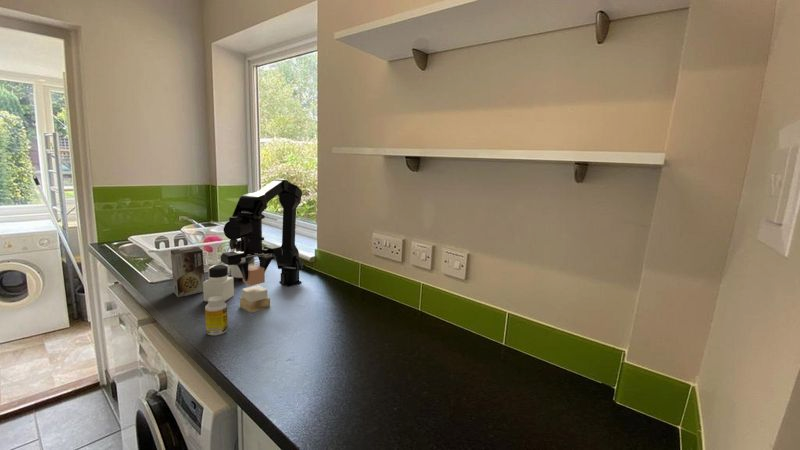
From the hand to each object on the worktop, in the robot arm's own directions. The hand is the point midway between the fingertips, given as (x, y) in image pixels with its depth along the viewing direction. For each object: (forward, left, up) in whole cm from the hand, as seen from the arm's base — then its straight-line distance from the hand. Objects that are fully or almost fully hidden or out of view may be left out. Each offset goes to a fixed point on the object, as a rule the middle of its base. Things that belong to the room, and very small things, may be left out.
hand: (253, 279), depth 117 cm
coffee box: (+10, -28, -10) cm, 31 cm away
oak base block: (0, 0, -10) cm, 10 cm away
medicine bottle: (+5, -15, -10) cm, 19 cm away
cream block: (0, 0, -7) cm, 7 cm away
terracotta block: (0, 0, -1) cm, 1 cm away
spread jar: (-11, -32, -10) cm, 35 cm away
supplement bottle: (+16, +9, -10) cm, 21 cm away
